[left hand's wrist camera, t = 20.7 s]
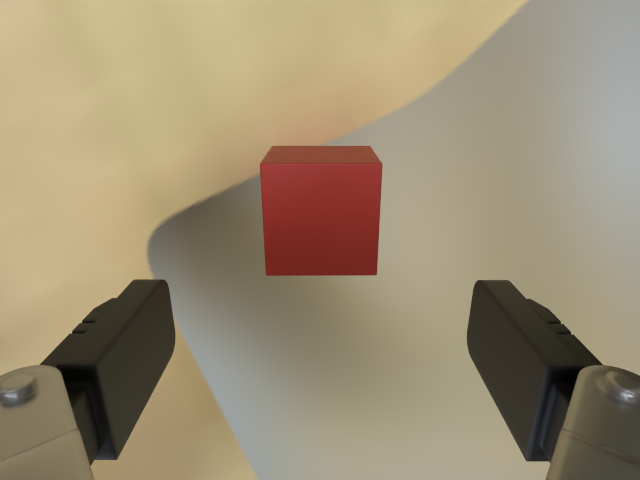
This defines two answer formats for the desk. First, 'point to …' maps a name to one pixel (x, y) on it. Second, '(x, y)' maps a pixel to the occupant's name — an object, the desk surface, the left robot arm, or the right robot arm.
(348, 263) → the brick
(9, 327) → the desk surface
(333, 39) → the desk surface
